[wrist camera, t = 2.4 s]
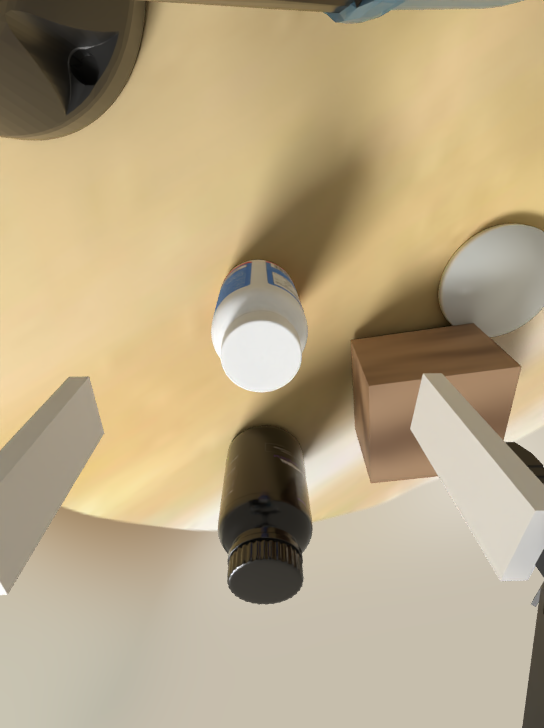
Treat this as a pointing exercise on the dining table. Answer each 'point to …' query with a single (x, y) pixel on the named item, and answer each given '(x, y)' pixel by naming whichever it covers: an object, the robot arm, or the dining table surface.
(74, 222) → the dining table surface
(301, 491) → the supplement bottle
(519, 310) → the grey coaster
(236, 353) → the pill bottle
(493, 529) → the robot arm
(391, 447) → the walnut block
